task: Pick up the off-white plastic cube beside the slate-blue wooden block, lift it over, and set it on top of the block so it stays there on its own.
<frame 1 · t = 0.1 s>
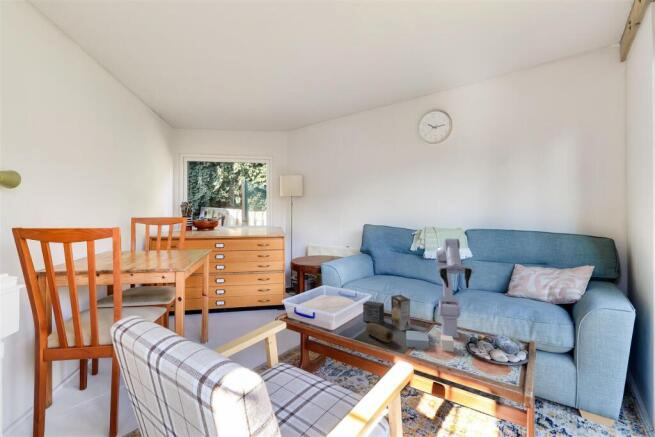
hand: (457, 286, 126), 32 cm above the table, tool tilted 50°, fingers open, 7 cm apart
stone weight: (379, 338, 152), on the table
coffee box: (400, 327, 165), on the table
cube: (447, 348, 139), on the table
base block: (417, 343, 145), on the table
small box: (373, 321, 174), on the table
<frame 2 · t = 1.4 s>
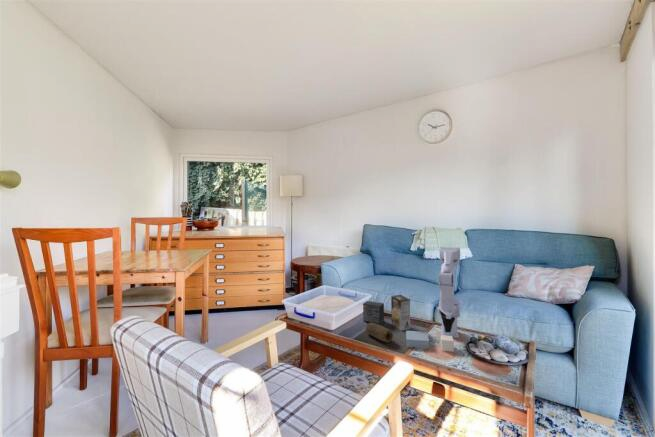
hand: (446, 328, 139), 9 cm above the table, tool pointing down, fingers open, 7 cm apart
nothing on the table moved.
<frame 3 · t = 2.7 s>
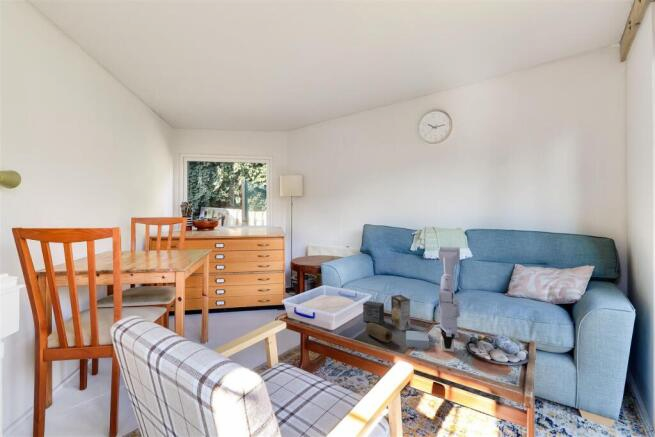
hand: (447, 345, 139), 1 cm above the table, tool pointing down, fingers closed on cube, 5 cm apart
cube: (447, 348, 139), on the table, touching gripper
everything else where it was.
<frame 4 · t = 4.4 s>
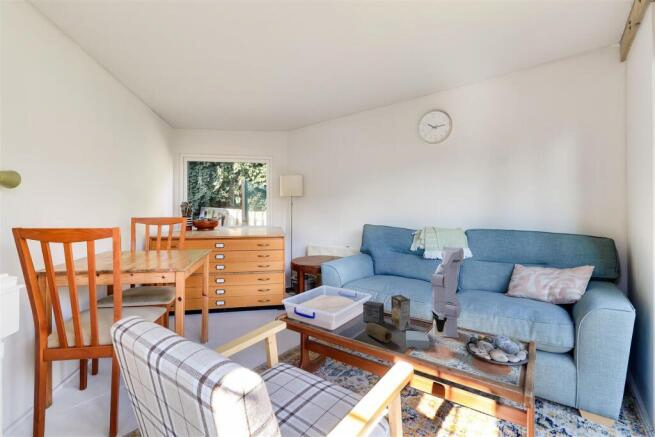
hand: (439, 329, 140), 8 cm above the table, tool pointing down, fingers closed on cube, 5 cm apart
cube: (439, 332, 140), point 7 cm above the table, touching gripper
everything else where it was.
when the fingers open (6 cm above the table, at t = 6.0 s): cube drops 1 cm, point 4 cm above the table.
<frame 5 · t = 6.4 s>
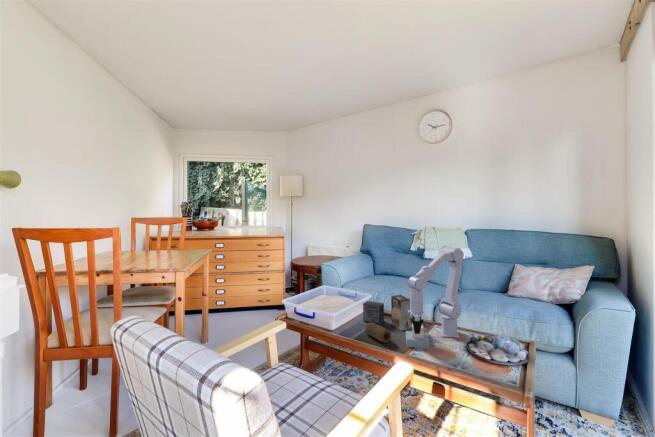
hand: (417, 330, 145), 6 cm above the table, tool pointing down, fingers open, 7 cm apart
cube: (417, 335, 145), point 4 cm above the table
everything else where it was.
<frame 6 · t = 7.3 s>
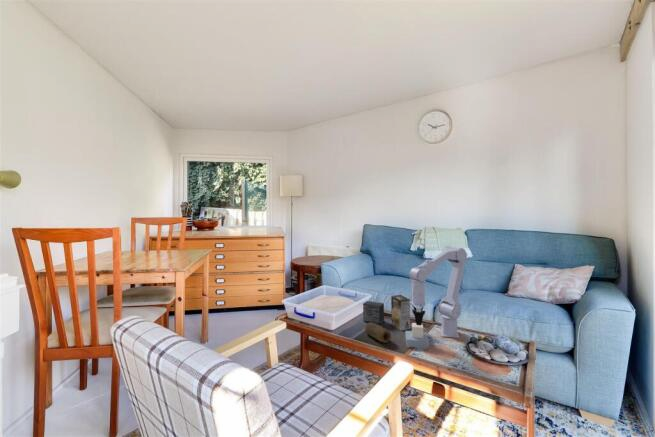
hand: (418, 321, 145), 10 cm above the table, tool pointing down, fingers open, 7 cm apart
cube: (417, 335, 145), point 4 cm above the table, touching base block
base block: (416, 343, 145), on the table, touching cube
everything else where it was.
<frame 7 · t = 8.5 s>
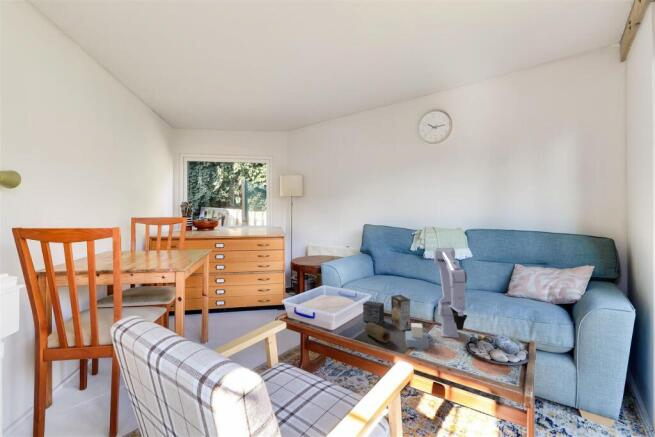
hand: (458, 326, 138), 10 cm above the table, tool pointing down, fingers open, 7 cm apart
nothing on the table moved.
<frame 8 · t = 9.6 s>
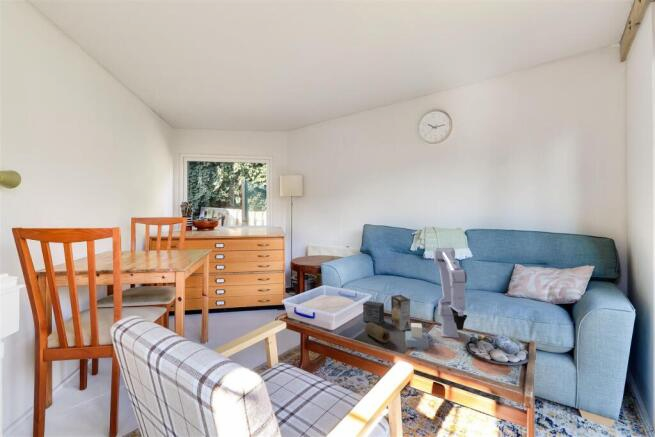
hand: (458, 326, 138), 10 cm above the table, tool pointing down, fingers open, 7 cm apart
at the end: cube inside the target area on the base block (0.3 cm from its centre), point 4.0 cm above the base block's base; cube tilted 0°; the gripper is holding nothing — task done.
